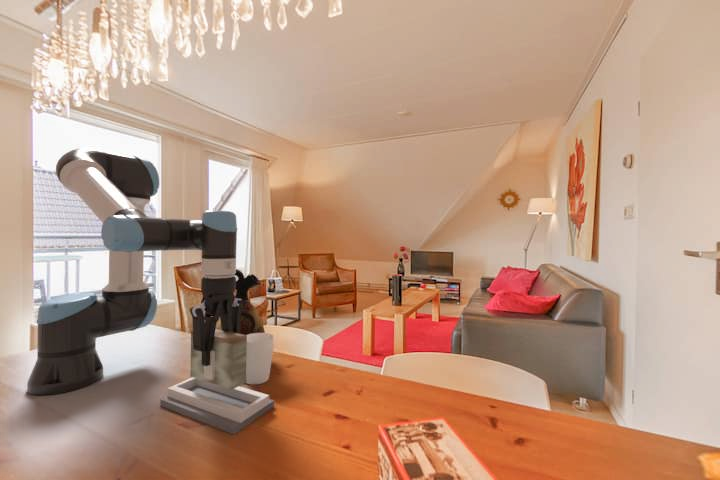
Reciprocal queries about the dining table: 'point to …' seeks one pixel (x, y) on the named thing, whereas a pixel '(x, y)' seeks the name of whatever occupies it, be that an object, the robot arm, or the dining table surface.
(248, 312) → the ceramic jug
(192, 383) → the track base
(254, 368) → the cup
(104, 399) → the dining table surface
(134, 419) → the dining table surface
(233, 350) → the beige textured block
